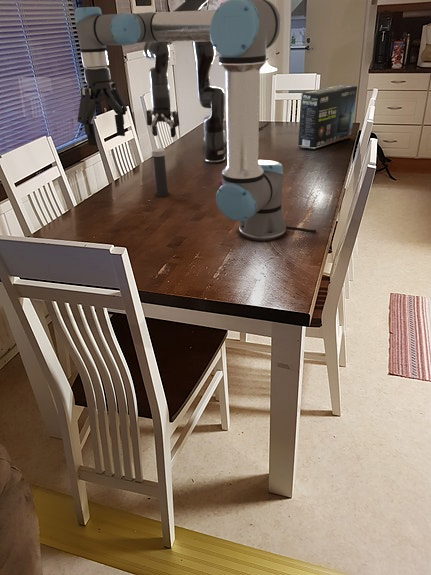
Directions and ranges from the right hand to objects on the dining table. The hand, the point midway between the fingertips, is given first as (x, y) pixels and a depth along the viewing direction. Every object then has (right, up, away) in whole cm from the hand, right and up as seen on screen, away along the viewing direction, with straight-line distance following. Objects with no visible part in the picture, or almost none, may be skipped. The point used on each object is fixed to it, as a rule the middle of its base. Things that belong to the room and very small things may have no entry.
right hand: (107, 140), depth 148 cm
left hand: (+13, +17, +47) cm, 51 cm away
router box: (+93, +30, +97) cm, 138 cm away
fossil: (+37, +33, +106) cm, 117 cm away
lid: (+13, +5, +28) cm, 31 cm away
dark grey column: (+13, -10, +37) cm, 40 cm away
